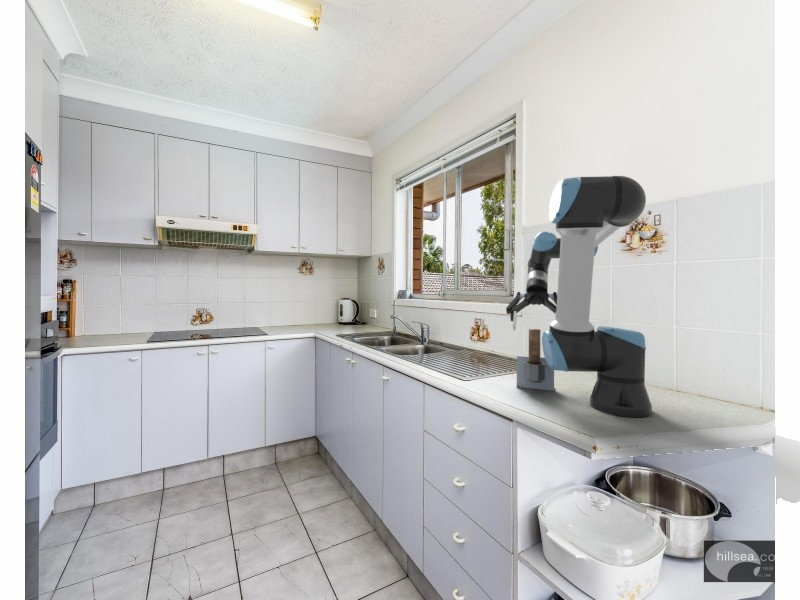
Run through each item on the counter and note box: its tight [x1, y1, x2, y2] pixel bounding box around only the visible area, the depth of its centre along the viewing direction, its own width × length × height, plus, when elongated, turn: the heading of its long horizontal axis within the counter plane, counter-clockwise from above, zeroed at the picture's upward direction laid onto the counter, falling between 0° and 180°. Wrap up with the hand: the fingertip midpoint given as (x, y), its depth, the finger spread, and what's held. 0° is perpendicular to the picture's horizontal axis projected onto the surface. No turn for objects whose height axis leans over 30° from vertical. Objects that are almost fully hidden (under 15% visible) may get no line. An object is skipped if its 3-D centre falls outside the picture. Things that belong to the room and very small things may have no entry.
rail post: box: [528, 328, 541, 365], centre depth 117 cm, size 4×4×16 cm
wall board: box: [516, 355, 555, 392], centre depth 124 cm, size 5×12×11 cm, turn 67°
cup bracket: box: [524, 361, 545, 383], centre depth 118 cm, size 8×6×6 cm
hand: (534, 328), depth 121 cm, fingers open, 13 cm apart
